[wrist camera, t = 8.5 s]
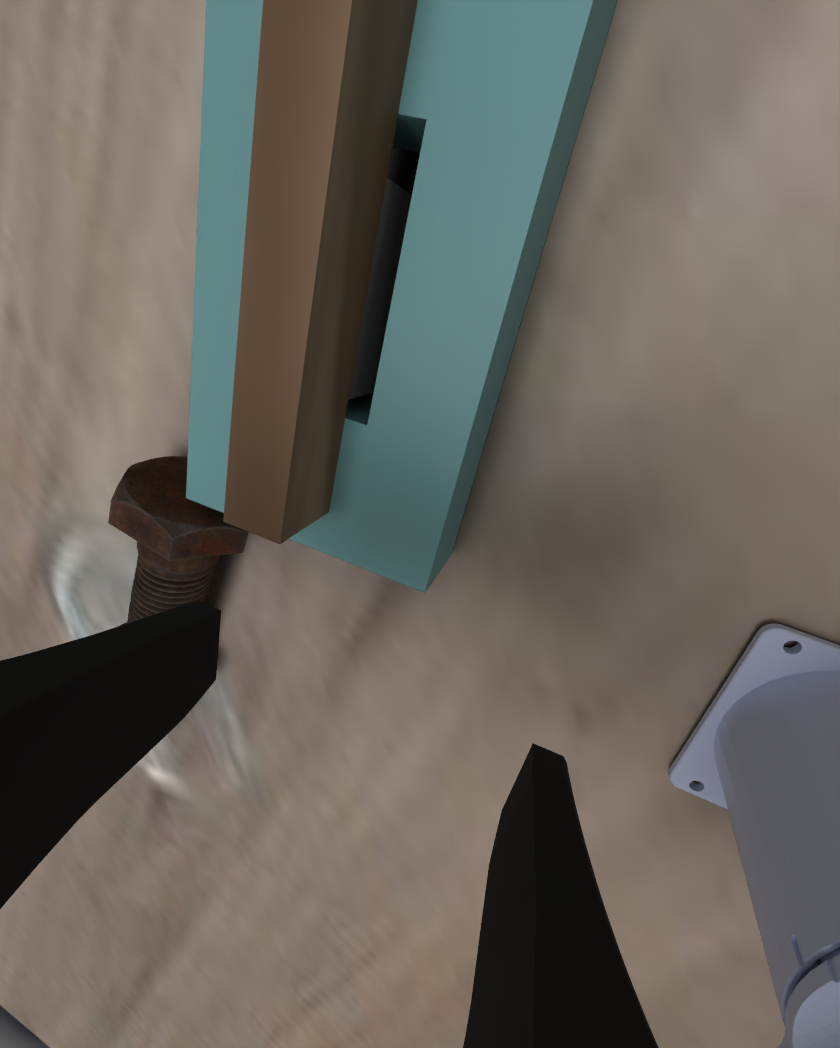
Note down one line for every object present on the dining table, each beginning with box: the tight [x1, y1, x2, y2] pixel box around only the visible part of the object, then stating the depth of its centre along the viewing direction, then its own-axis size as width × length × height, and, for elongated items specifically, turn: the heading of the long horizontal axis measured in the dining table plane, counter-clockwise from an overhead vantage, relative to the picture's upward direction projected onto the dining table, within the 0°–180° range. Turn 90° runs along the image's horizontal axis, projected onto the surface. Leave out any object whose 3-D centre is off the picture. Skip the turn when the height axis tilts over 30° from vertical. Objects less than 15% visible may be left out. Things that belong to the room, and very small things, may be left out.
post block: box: [186, 0, 617, 593], centre depth 16 cm, size 10×18×4 cm, turn 166°
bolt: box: [108, 456, 248, 626], centre depth 24 cm, size 6×5×15 cm
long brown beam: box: [223, 0, 418, 544], centre depth 15 cm, size 2×14×6 cm, turn 166°
